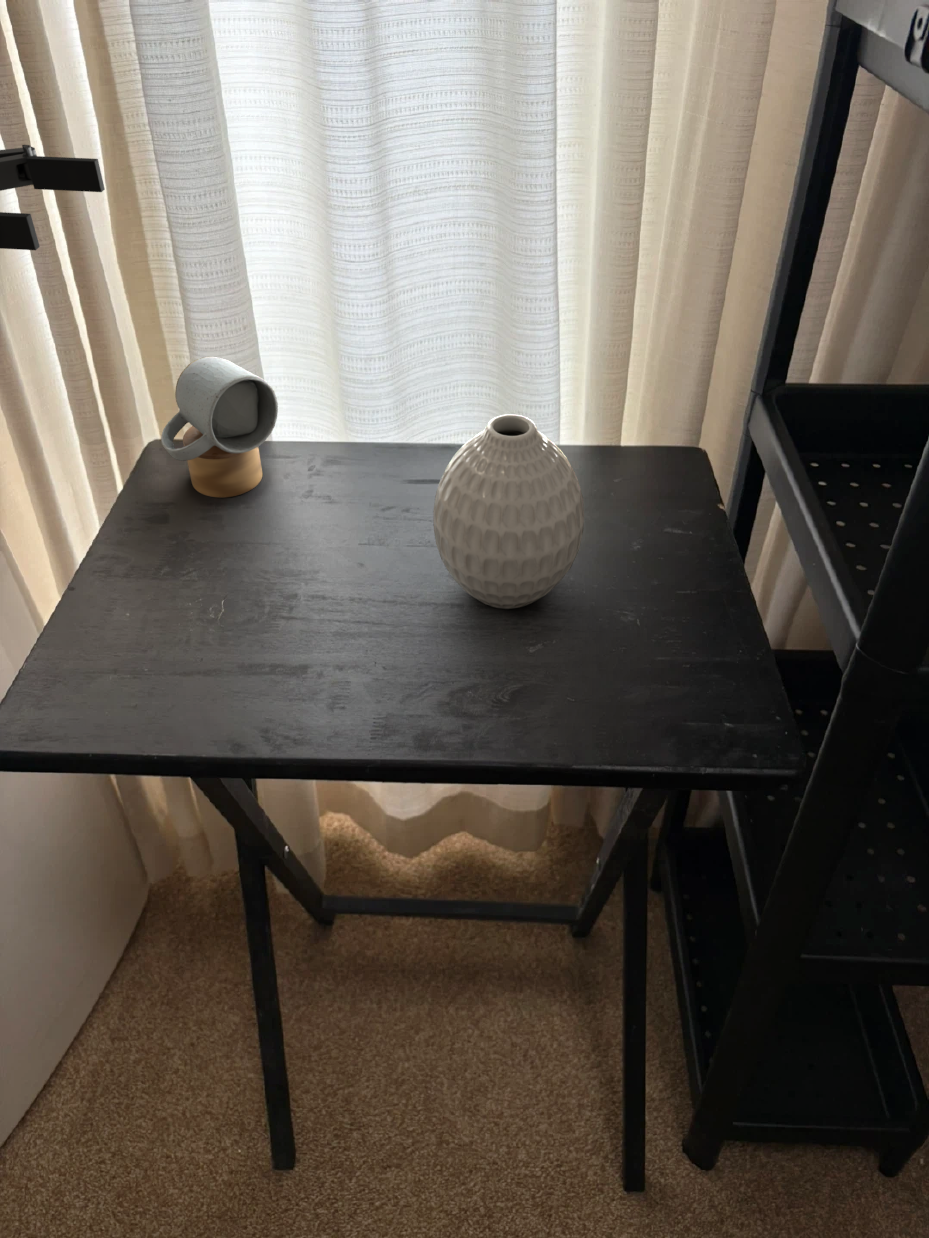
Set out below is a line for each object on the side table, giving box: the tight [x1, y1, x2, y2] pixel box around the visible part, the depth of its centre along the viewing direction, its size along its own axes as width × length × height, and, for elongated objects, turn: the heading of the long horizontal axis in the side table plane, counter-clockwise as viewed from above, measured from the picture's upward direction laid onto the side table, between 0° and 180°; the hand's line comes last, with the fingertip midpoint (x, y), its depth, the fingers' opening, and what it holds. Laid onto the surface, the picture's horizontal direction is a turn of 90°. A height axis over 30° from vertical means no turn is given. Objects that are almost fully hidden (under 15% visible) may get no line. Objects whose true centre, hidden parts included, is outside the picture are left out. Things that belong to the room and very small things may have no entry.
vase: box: [432, 413, 585, 610], centre depth 87 cm, size 13×13×17 cm
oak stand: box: [182, 425, 263, 498], centre depth 105 cm, size 7×7×5 cm
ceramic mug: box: [160, 356, 279, 462], centre depth 100 cm, size 11×8×8 cm
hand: (68, 202), depth 89 cm, fingers open, 13 cm apart
